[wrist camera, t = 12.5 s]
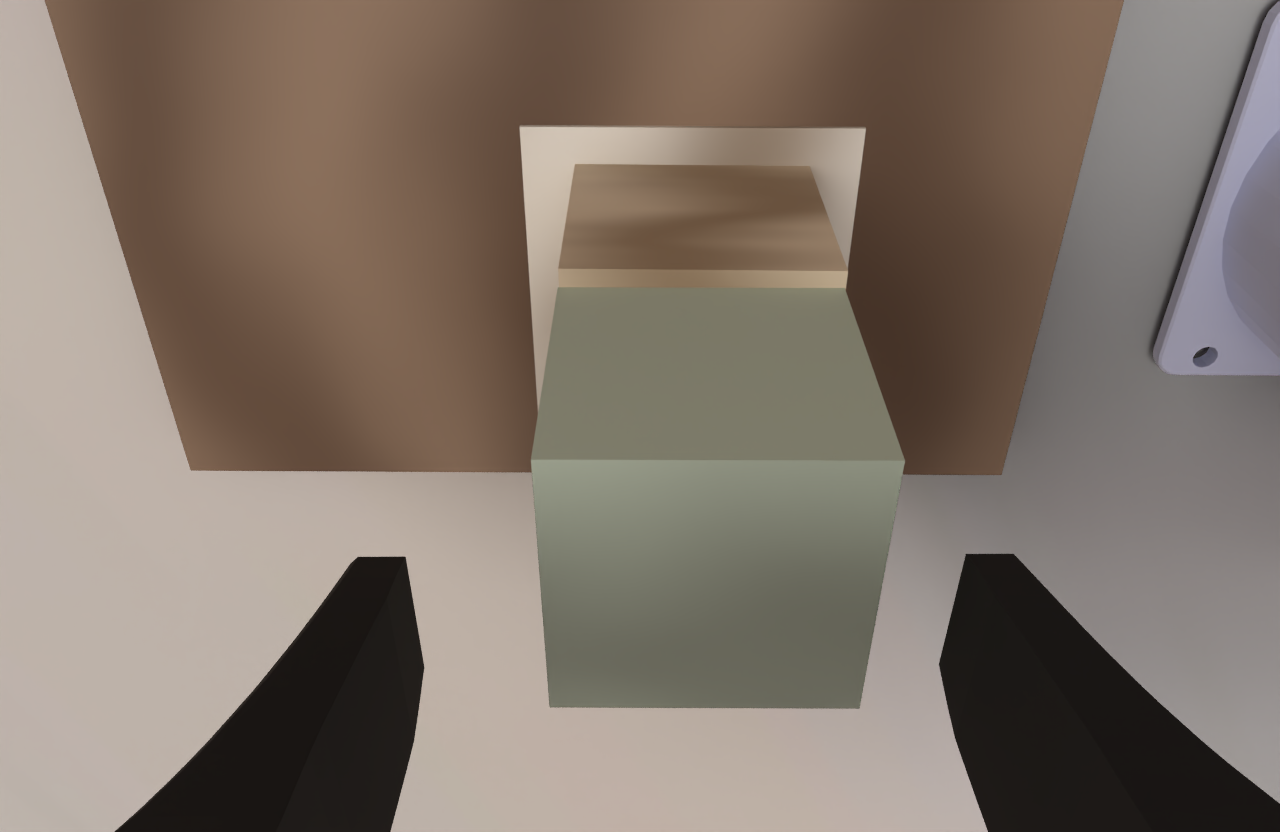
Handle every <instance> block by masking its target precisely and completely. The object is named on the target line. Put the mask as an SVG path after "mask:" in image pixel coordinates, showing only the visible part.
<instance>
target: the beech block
mask: <svg viewBox="0 0 1280 832" xmlns="http://www.w3.org/2000/svg"><path fill="white" fill-rule="evenodd" d="M558 277H559V287H648V288H845V290H846V284H847V277H848V269H847V266H846V264H845V261H844V258H843V255H842V253H841V250H840V247H839V245H838V242H837V239H836V236H835V234H834V231H833V228H832V225H831V223H830V220H829V217H828V215H827V212H826V209H825V206H824V204H823V201H822V198H821V195H820V193H819V190H818V187H817V185H816V182H815V179H814V176H813V174H812V171H811V168H810V166H755V165H638V164H575V166H574V173H573V179H572V185H571V191H570V198H569V204H568V210H567V216H566V223H565V229H564V235H563V241H562V248H561V254H560V260H559V266H558Z"/></svg>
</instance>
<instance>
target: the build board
mask: <svg viewBox="0 0 1280 832" xmlns="http://www.w3.org/2000/svg"><path fill="white" fill-rule="evenodd" d="M1123 2H1124V0H45V3H46V6H47V9H48V12H49V15H50V19H51V22H52V25H53V28H54V32H55V35H56V38H57V41H58V44H59V48H60V51H61V54H62V57H63V61H64V64H65V67H66V70H67V73H68V77H69V80H70V83H71V86H72V90H73V93H74V96H75V99H76V102H77V106H78V109H79V112H80V115H81V119H82V122H83V125H84V128H85V131H86V135H87V138H88V141H89V144H90V148H91V151H92V154H93V157H94V160H95V164H96V167H97V170H98V173H99V176H100V180H101V183H102V186H103V189H104V193H105V196H106V199H107V202H108V205H109V209H110V212H111V215H112V218H113V222H114V225H115V228H116V231H117V234H118V238H119V241H120V244H121V247H122V251H123V254H124V257H125V260H126V263H127V267H128V270H129V273H130V276H131V280H132V283H133V286H134V289H135V292H136V296H137V299H138V302H139V305H140V308H141V312H142V315H143V318H144V321H145V325H146V328H147V331H148V334H149V337H150V341H151V344H152V347H153V350H154V354H155V357H156V360H157V363H158V366H159V370H160V373H161V376H162V379H163V383H164V386H165V389H166V392H167V395H168V399H169V402H170V405H171V408H172V412H173V415H174V418H175V421H176V424H177V428H178V431H179V434H180V437H181V441H182V444H183V447H184V450H185V453H186V457H187V460H188V463H189V466H190V469H191V470H207V471H386V472H532V468H531V456H532V449H533V443H534V436H535V430H536V423H537V417H538V411H539V404H540V398H541V391H542V385H543V378H544V372H545V366H546V359H547V353H548V346H549V340H550V333H551V327H552V321H553V314H554V308H555V301H556V295H557V288H558V287H559V277H558V266H559V260H560V254H561V248H562V241H563V235H564V229H565V223H566V216H567V210H568V204H569V198H570V191H571V185H572V179H573V173H574V166H575V164H638V165H755V166H810V168H811V171H812V174H813V176H814V179H815V182H816V185H817V187H818V190H819V193H820V195H821V198H822V201H823V204H824V206H825V209H826V212H827V215H828V217H829V220H830V223H831V225H832V228H833V231H834V234H835V236H836V239H837V242H838V245H839V247H840V250H841V253H842V255H843V258H844V261H845V264H846V266H847V269H848V277H847V284H846V293H847V296H848V299H849V302H850V305H851V307H852V310H853V313H854V316H855V319H856V322H857V325H858V327H859V330H860V333H861V336H862V339H863V342H864V345H865V347H866V350H867V353H868V356H869V359H870V362H871V365H872V368H873V370H874V373H875V376H876V379H877V382H878V385H879V388H880V390H881V393H882V396H883V399H884V402H885V405H886V408H887V410H888V413H889V416H890V419H891V422H892V425H893V428H894V430H895V433H896V436H897V439H898V442H899V445H900V448H901V451H902V453H903V456H904V459H905V464H904V469H903V474H921V475H1001V474H1002V471H1003V467H1004V463H1005V459H1006V455H1007V451H1008V447H1009V443H1010V440H1011V436H1012V432H1013V428H1014V424H1015V420H1016V416H1017V412H1018V409H1019V405H1020V401H1021V397H1022V393H1023V389H1024V385H1025V381H1026V378H1027V374H1028V370H1029V366H1030V362H1031V358H1032V354H1033V351H1034V347H1035V343H1036V339H1037V335H1038V331H1039V327H1040V323H1041V320H1042V316H1043V312H1044V308H1045V304H1046V300H1047V296H1048V292H1049V289H1050V285H1051V281H1052V277H1053V273H1054V269H1055V265H1056V261H1057V258H1058V254H1059V250H1060V246H1061V242H1062V238H1063V234H1064V230H1065V227H1066V223H1067V219H1068V215H1069V211H1070V207H1071V203H1072V199H1073V196H1074V192H1075V188H1076V184H1077V180H1078V176H1079V172H1080V168H1081V165H1082V161H1083V157H1084V153H1085V149H1086V145H1087V141H1088V137H1089V134H1090V130H1091V126H1092V122H1093V118H1094V114H1095V110H1096V107H1097V103H1098V99H1099V95H1100V91H1101V87H1102V83H1103V79H1104V76H1105V72H1106V68H1107V64H1108V60H1109V56H1110V52H1111V48H1112V45H1113V41H1114V37H1115V33H1116V29H1117V25H1118V21H1119V17H1120V14H1121V10H1122V6H1123Z"/></svg>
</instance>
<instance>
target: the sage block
mask: <svg viewBox="0 0 1280 832" xmlns="http://www.w3.org/2000/svg"><path fill="white" fill-rule="evenodd" d="M904 464H905V459H904V456H903V453H902V451H901V448H900V445H899V442H898V439H897V436H896V433H895V430H894V428H893V425H892V422H891V419H890V416H889V413H888V410H887V408H886V405H885V402H884V399H883V396H882V393H881V390H880V388H879V385H878V382H877V379H876V376H875V373H874V370H873V368H872V365H871V362H870V359H869V356H868V353H867V350H866V347H865V345H864V342H863V339H862V336H861V333H860V330H859V327H858V325H857V322H856V319H855V316H854V313H853V310H852V307H851V305H850V302H849V299H848V296H847V293H846V290H845V288H648V287H558V288H557V295H556V301H555V308H554V314H553V321H552V327H551V333H550V340H549V346H548V353H547V359H546V366H545V372H544V378H543V385H542V391H541V398H540V404H539V411H538V417H537V423H536V430H535V436H534V443H533V449H532V456H531V468H532V481H533V494H534V507H535V521H536V534H537V547H538V560H539V573H540V586H541V600H542V613H543V626H544V639H545V652H546V665H547V679H548V692H549V705H550V707H597V708H855V709H859V708H860V702H861V697H862V692H863V686H864V681H865V675H866V670H867V664H868V659H869V654H870V648H871V643H872V637H873V632H874V626H875V621H876V616H877V610H878V605H879V599H880V594H881V589H882V583H883V578H884V572H885V567H886V561H887V556H888V551H889V545H890V540H891V534H892V529H893V523H894V518H895V513H896V507H897V502H898V496H899V491H900V486H901V480H902V475H903V469H904Z"/></svg>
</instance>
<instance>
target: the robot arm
mask: <svg viewBox="0 0 1280 832" xmlns="http://www.w3.org/2000/svg"><path fill="white" fill-rule="evenodd" d="M1205 347H1209V349H1208V351H1207V352H1206V353H1205V354H1204V355H1202V356H1201V357H1197V358H1193V357H1194V355H1195V354H1196V352H1197V351H1199V350H1200V349H1202V348H1205ZM1153 358H1154V360H1155V362H1156V364H1157V365H1158V366H1159V368H1160V369H1161V370H1163V371H1164V372H1165V373H1167V374H1172V375H1257V376H1280V1H1278V2H1277V3H1276V4H1275V5H1274V6H1273V7H1272V8H1271V9H1270V10H1269V12H1268V14H1267V15H1266V17H1265V19H1264V21H1263V24H1262V27H1261V30H1260V33H1259V36H1258V39H1257V42H1256V45H1255V48H1254V51H1253V54H1252V57H1251V59H1250V62H1249V65H1248V68H1247V71H1246V74H1245V77H1244V80H1243V83H1242V86H1241V89H1240V92H1239V95H1238V98H1237V101H1236V104H1235V107H1234V110H1233V113H1232V116H1231V119H1230V122H1229V125H1228V128H1227V131H1226V134H1225V137H1224V140H1223V143H1222V146H1221V149H1220V152H1219V155H1218V158H1217V161H1216V164H1215V167H1214V170H1213V173H1212V176H1211V179H1210V182H1209V185H1208V188H1207V191H1206V194H1205V197H1204V200H1203V203H1202V206H1201V209H1200V212H1199V215H1198V218H1197V221H1196V223H1195V226H1194V229H1193V232H1192V235H1191V238H1190V241H1189V244H1188V247H1187V250H1186V253H1185V256H1184V259H1183V262H1182V265H1181V268H1180V271H1179V274H1178V277H1177V280H1176V283H1175V286H1174V289H1173V292H1172V295H1171V298H1170V301H1169V304H1168V307H1167V310H1166V313H1165V316H1164V319H1163V322H1162V325H1161V328H1160V331H1159V334H1158V337H1157V340H1156V343H1155V346H1154V349H1153ZM939 666H940V671H941V676H942V681H943V686H944V691H945V696H946V700H947V705H948V709H949V714H950V718H951V722H952V727H953V731H954V735H955V739H956V742H957V745H958V748H959V751H960V754H961V757H962V759H963V762H964V765H965V768H966V771H967V774H968V777H969V779H970V782H971V785H972V788H973V791H974V794H975V797H976V799H977V802H978V805H979V808H980V810H981V813H982V816H983V819H984V822H985V824H986V827H987V830H988V832H1280V804H1279V803H1278V802H1277V801H1275V800H1274V799H1273V798H1272V797H1270V796H1269V795H1268V794H1267V793H1265V792H1264V791H1263V790H1262V789H1260V788H1259V787H1258V786H1256V785H1255V784H1254V783H1253V782H1251V781H1250V780H1249V779H1248V778H1246V777H1245V776H1244V775H1243V774H1241V773H1240V772H1239V771H1237V770H1236V769H1235V768H1234V767H1232V766H1231V765H1230V764H1229V763H1227V762H1226V761H1225V760H1224V759H1223V758H1221V757H1220V756H1219V755H1218V754H1217V753H1215V752H1214V751H1213V750H1212V749H1211V748H1209V747H1208V746H1207V745H1206V744H1205V743H1204V742H1202V741H1201V740H1200V739H1199V738H1198V737H1197V736H1196V735H1195V734H1193V733H1192V732H1191V731H1190V730H1189V729H1188V728H1187V727H1186V726H1185V725H1183V724H1182V723H1181V722H1180V721H1179V720H1178V719H1177V718H1176V717H1175V716H1173V715H1172V714H1171V713H1170V712H1169V711H1168V710H1167V709H1166V708H1164V707H1163V706H1162V705H1161V704H1160V703H1159V702H1158V701H1157V700H1156V699H1155V698H1154V697H1153V696H1152V695H1150V694H1149V693H1148V692H1147V691H1146V690H1145V689H1144V688H1143V687H1142V686H1141V685H1140V684H1139V683H1138V682H1137V681H1136V680H1135V679H1134V678H1133V677H1132V676H1131V675H1130V674H1129V673H1128V672H1127V671H1126V670H1125V669H1124V668H1123V667H1122V666H1121V665H1120V664H1119V663H1118V662H1117V661H1116V660H1115V659H1114V658H1113V657H1111V656H1110V655H1109V654H1108V653H1107V652H1106V651H1105V650H1104V649H1103V647H1102V646H1101V645H1100V644H1099V643H1098V642H1097V641H1096V640H1095V639H1094V638H1093V637H1092V636H1091V635H1090V634H1089V633H1088V632H1087V631H1086V630H1085V629H1084V628H1083V627H1082V626H1081V625H1080V624H1079V623H1078V622H1077V621H1076V619H1075V618H1074V617H1073V616H1072V615H1071V614H1070V613H1069V612H1068V611H1067V610H1066V609H1065V608H1064V607H1063V606H1062V605H1061V604H1060V603H1059V602H1058V601H1057V599H1056V598H1055V597H1054V596H1053V595H1052V594H1051V593H1050V592H1049V591H1048V590H1047V589H1046V588H1045V587H1044V586H1043V585H1042V584H1041V582H1040V581H1039V580H1038V579H1037V578H1036V577H1035V576H1034V575H1033V574H1032V573H1031V572H1030V571H1029V570H1028V569H1027V568H1026V567H1025V566H1024V564H1023V563H1022V562H1021V561H1020V560H1019V559H1018V558H1017V557H1016V556H1015V555H1014V554H966V556H965V561H964V565H963V569H962V573H961V577H960V581H959V585H958V589H957V593H956V597H955V601H954V605H953V609H952V613H951V617H950V621H949V625H948V630H947V634H946V638H945V642H944V646H943V650H942V654H941V658H940V662H939ZM423 672H424V663H423V657H422V651H421V645H420V639H419V634H418V628H417V622H416V616H415V610H414V604H413V598H412V592H411V586H410V581H409V575H408V569H407V563H406V557H357V558H356V559H355V560H354V561H353V562H352V563H351V564H350V565H349V567H348V568H347V569H346V571H345V572H344V574H343V575H342V576H341V578H340V579H339V581H338V582H337V583H336V585H335V586H334V588H333V589H332V590H331V592H330V593H329V595H328V596H327V597H326V599H325V600H324V601H323V603H322V604H321V606H320V607H319V608H318V610H317V611H316V612H315V614H314V615H313V616H312V618H311V619H310V620H309V622H308V623H307V624H306V625H305V627H304V628H303V629H302V631H301V632H300V633H299V635H298V636H297V637H296V639H295V640H294V641H293V642H292V644H291V645H290V646H289V647H288V649H287V650H286V651H285V652H284V654H283V655H282V656H281V657H280V659H279V660H278V661H277V662H276V664H275V665H274V666H273V667H272V668H271V670H270V671H269V672H268V673H267V675H266V676H265V677H264V678H263V680H262V681H261V682H260V683H259V684H258V686H257V687H256V688H255V689H254V690H253V692H252V693H251V694H250V695H249V696H248V697H247V698H246V700H245V701H244V702H243V703H242V704H241V705H240V706H239V707H238V708H237V710H236V711H235V712H234V713H233V714H232V715H231V716H230V717H229V719H228V720H227V721H226V722H225V723H224V724H223V725H222V726H221V728H220V729H219V730H218V731H217V732H216V733H215V734H214V735H213V737H212V738H211V739H210V740H209V741H208V742H207V743H206V744H205V745H204V746H203V747H202V748H201V749H200V750H199V751H198V752H197V753H196V755H195V756H194V757H193V758H192V759H191V760H190V761H189V762H188V763H187V764H186V765H185V766H184V767H183V768H182V769H181V770H180V771H179V772H178V773H177V774H176V775H175V776H174V777H173V778H172V779H171V780H170V781H169V782H168V783H167V784H166V785H165V786H164V787H163V788H162V789H161V790H159V791H158V792H157V793H156V794H155V795H154V796H153V797H152V798H151V799H150V800H149V801H148V802H147V803H146V804H145V805H144V806H143V807H142V808H141V809H140V810H138V811H137V812H136V813H135V814H134V815H133V816H132V817H131V818H129V819H128V820H127V821H126V822H125V823H124V824H123V825H122V826H120V827H119V828H118V829H117V830H116V831H115V832H390V831H391V827H392V823H393V820H394V816H395V812H396V808H397V805H398V801H399V797H400V793H401V789H402V785H403V782H404V778H405V774H406V770H407V766H408V762H409V758H410V754H411V750H412V746H413V743H414V737H415V730H416V723H417V717H418V710H419V703H420V695H421V687H422V680H423Z"/></svg>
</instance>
